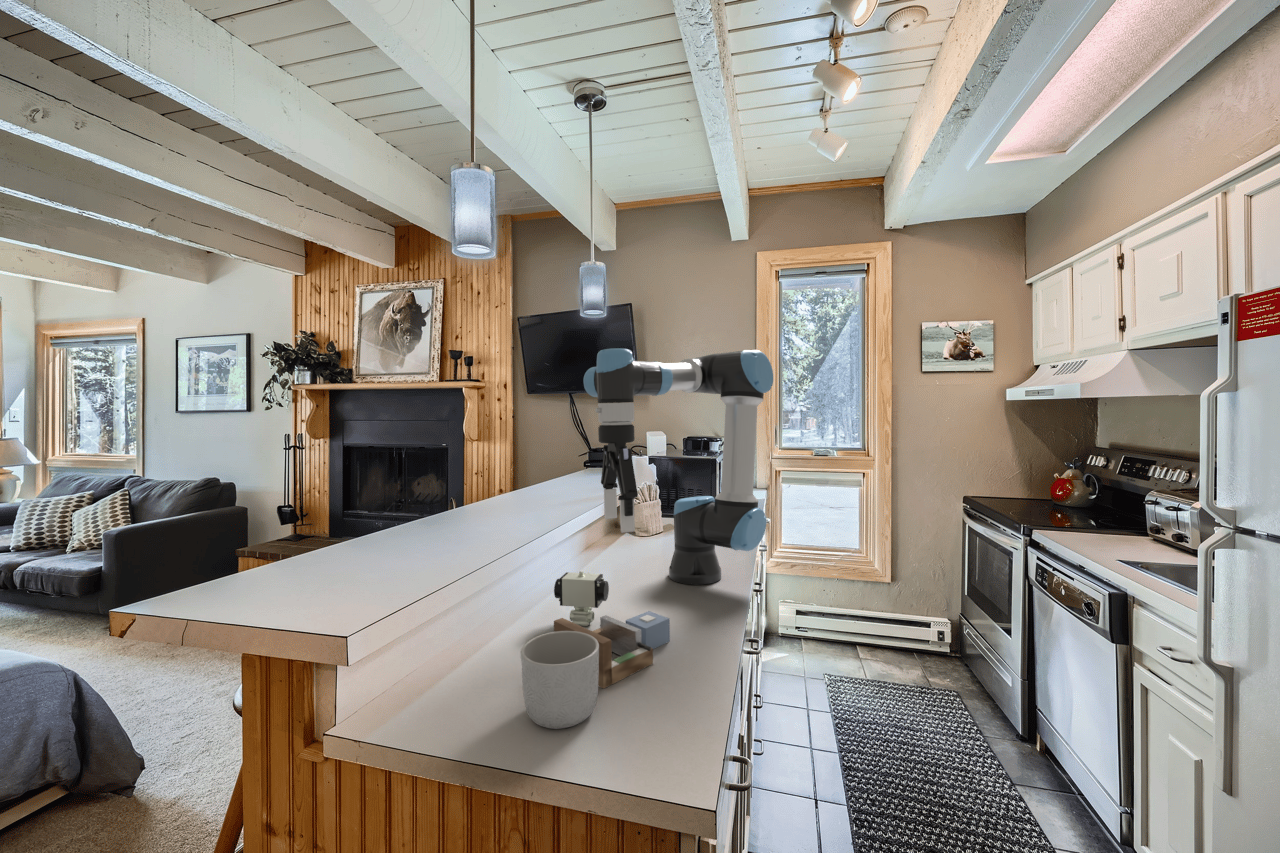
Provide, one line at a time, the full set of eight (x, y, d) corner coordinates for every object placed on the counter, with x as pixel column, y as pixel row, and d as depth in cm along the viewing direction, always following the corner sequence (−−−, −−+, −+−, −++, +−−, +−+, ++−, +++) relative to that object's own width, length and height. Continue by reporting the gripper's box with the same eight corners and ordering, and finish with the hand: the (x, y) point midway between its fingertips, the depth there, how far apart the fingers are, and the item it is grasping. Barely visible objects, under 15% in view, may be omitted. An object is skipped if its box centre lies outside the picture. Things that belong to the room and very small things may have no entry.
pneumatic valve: (604, 629, 116) (603, 575, 116) (554, 625, 119) (553, 573, 118) (610, 619, 122) (609, 568, 121) (562, 616, 124) (561, 566, 124)
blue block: (649, 633, 114) (649, 609, 114) (669, 641, 110) (669, 616, 110) (625, 643, 109) (625, 618, 109) (646, 653, 105) (645, 627, 105)
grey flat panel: (606, 643, 108) (605, 615, 108) (653, 665, 99) (652, 634, 98) (600, 646, 107) (600, 617, 107) (647, 668, 98) (646, 636, 97)
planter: (531, 746, 76) (529, 672, 76) (515, 703, 87) (514, 638, 87) (611, 724, 81) (610, 655, 81) (586, 686, 92) (585, 625, 92)
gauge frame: (603, 640, 110) (602, 603, 110) (653, 663, 100) (652, 622, 100) (554, 661, 102) (553, 620, 101) (603, 688, 91) (602, 643, 91)
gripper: (586, 422, 120) (589, 514, 121) (613, 426, 96) (616, 540, 97) (618, 421, 122) (620, 512, 123) (652, 424, 98) (655, 536, 99)
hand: (618, 524), depth 110 cm, fingers open, 13 cm apart
